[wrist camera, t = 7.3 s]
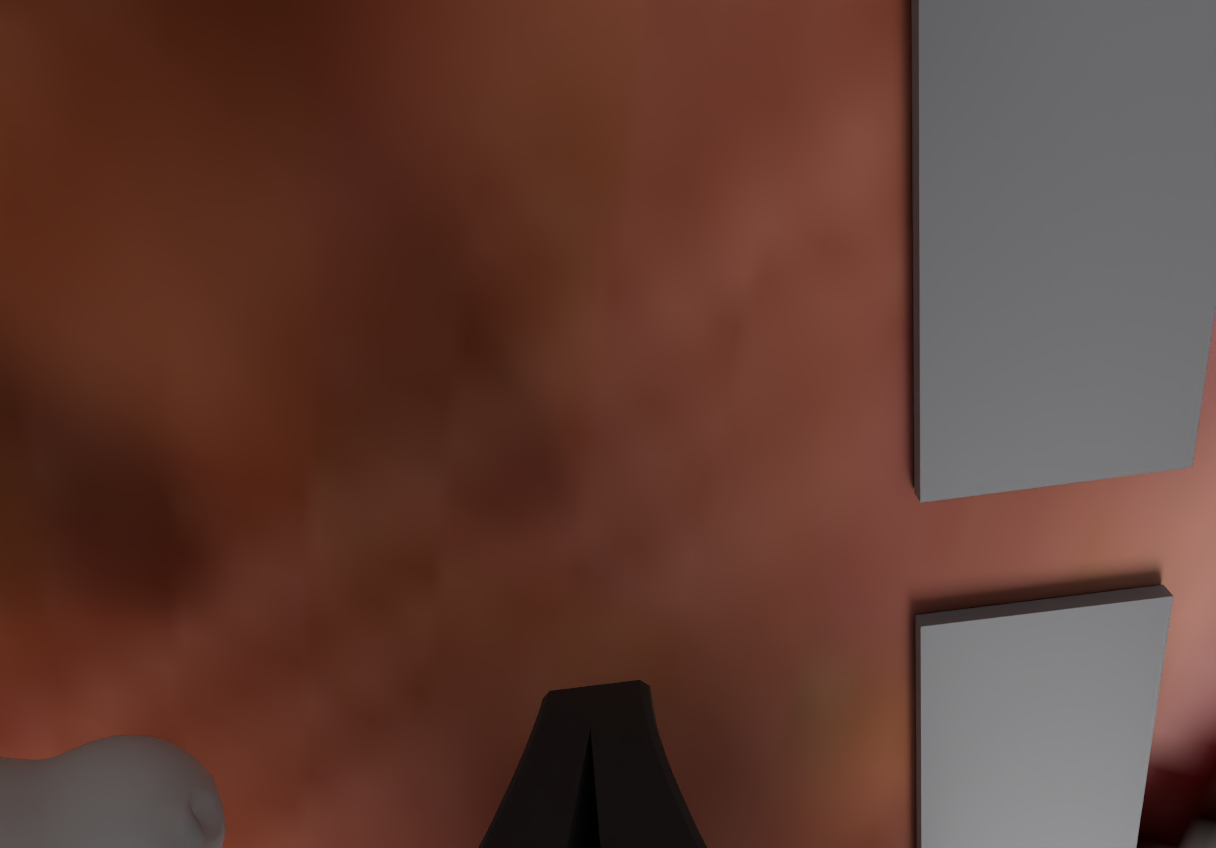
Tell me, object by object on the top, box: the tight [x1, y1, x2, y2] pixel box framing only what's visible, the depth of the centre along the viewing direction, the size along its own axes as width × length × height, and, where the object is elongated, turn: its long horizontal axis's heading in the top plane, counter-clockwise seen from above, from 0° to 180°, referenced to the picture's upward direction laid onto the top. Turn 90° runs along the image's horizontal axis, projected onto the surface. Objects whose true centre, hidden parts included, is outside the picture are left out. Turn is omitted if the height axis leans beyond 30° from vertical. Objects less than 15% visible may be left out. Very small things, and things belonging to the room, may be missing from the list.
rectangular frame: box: [911, 0, 1216, 848], centre depth 15 cm, size 22×29×2 cm
